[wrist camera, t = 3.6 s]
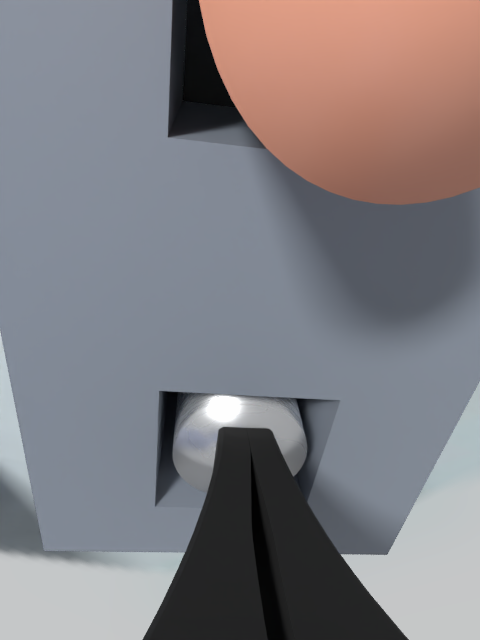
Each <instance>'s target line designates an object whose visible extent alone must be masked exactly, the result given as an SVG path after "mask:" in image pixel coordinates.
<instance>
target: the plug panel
mask: <svg viewBox="0 0 480 640" xmlns="http://www.w3.org/2000/svg"><path fill="white" fill-rule="evenodd" d="M187 1H188V0H0V331H1V336H2V342H3V347H4V352H5V357H6V362H7V367H8V372H9V377H10V382H11V387H12V392H13V397H14V402H15V407H16V412H17V417H18V422H19V428H20V433H21V438H22V443H23V448H24V453H25V458H26V463H27V468H28V473H29V478H30V483H31V488H32V493H33V498H34V503H35V509H36V514H37V519H38V524H39V529H40V534H41V539H42V544H43V549H44V551H102V552H186V549H187V547H188V544H189V542H190V539H191V537H192V534H193V532H194V529H195V527H196V524H197V521H198V518H199V515H200V512H201V510H202V507H203V504H204V501H205V498H206V495H207V493H206V492H203V491H201V490H198V489H196V488H195V487H193V486H191V485H190V484H189V483H187V482H186V481H185V480H184V479H183V478H182V477H181V476H180V475H179V473H178V472H177V470H176V468H175V465H174V462H173V442H174V430H175V419H176V407H177V396H178V392H191V393H210V394H229V395H248V396H267V397H286V398H296V400H297V404H298V408H299V412H300V416H301V420H302V425H303V429H304V433H305V437H306V442H307V455H306V459H305V461H304V464H303V465H302V467H301V469H300V470H299V471H298V472H297V474H296V475H295V476H294V479H295V481H296V483H297V485H298V486H299V488H300V490H301V492H302V494H303V495H304V497H305V499H306V501H307V503H308V504H309V506H310V508H311V509H312V511H313V513H314V515H315V516H316V518H317V519H318V521H319V523H320V524H321V526H322V527H323V529H324V531H325V532H326V534H327V535H328V537H329V538H330V540H331V541H332V543H333V544H334V546H335V547H336V549H337V550H338V552H339V553H340V554H376V555H377V554H378V555H387V554H388V552H389V550H390V548H391V546H392V545H393V543H394V541H395V539H396V537H397V535H398V533H399V531H400V530H401V528H402V526H403V524H404V522H405V520H406V518H407V516H408V515H409V513H410V511H411V509H412V507H413V505H414V503H415V501H416V500H417V498H418V496H419V494H420V492H421V490H422V488H423V486H424V485H425V483H426V481H427V479H428V477H429V475H430V473H431V471H432V470H433V468H434V466H435V464H436V462H437V460H438V458H439V456H440V455H441V453H442V451H443V449H444V447H445V445H446V443H447V441H448V440H449V438H450V436H451V434H452V432H453V430H454V428H455V426H456V425H457V423H458V421H459V419H460V417H461V415H462V413H463V411H464V410H465V408H466V406H467V404H468V402H469V400H470V398H471V396H472V395H473V393H474V391H475V389H476V387H477V385H478V383H479V381H480V187H479V188H477V189H474V190H471V191H468V192H465V193H462V194H459V195H456V196H454V197H450V198H445V199H440V200H436V201H431V202H426V203H415V204H405V205H394V204H375V203H369V202H364V201H358V200H353V199H350V198H346V197H343V196H340V195H337V194H334V193H331V192H329V191H327V190H325V189H323V188H321V187H319V186H317V185H315V184H312V183H310V182H308V181H307V180H305V179H304V178H302V177H301V176H299V175H298V174H296V173H295V172H294V171H292V170H291V169H289V168H288V167H286V166H285V165H284V164H283V163H282V162H281V161H280V160H279V159H278V158H276V157H275V156H274V155H273V154H272V153H271V152H270V151H269V150H268V149H267V148H266V147H265V146H264V145H263V144H262V142H261V141H260V140H259V139H258V137H257V136H256V135H255V134H254V133H253V131H252V130H251V129H250V128H249V127H248V125H247V124H246V122H245V120H244V119H243V117H242V116H241V114H240V112H239V111H238V109H237V108H235V107H228V106H220V105H212V104H204V103H196V102H189V101H183V82H184V62H185V41H186V21H187Z"/></svg>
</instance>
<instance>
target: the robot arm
mask: <svg viewBox="0 0 480 640" xmlns="http://www.w3.org/2000/svg"><path fill="white" fill-rule="evenodd" d="M143 640H409V639H408V638H407V637H406V636H405V635H404V634H403V633H402V632H401V630H400V629H399V628H398V627H397V626H396V624H395V623H394V622H393V621H392V620H391V619H390V617H389V616H388V615H387V614H386V613H385V611H384V610H383V609H382V608H381V607H380V605H379V604H378V603H377V602H376V601H375V600H374V598H373V597H372V596H371V595H370V594H369V592H368V591H367V590H366V588H365V587H364V586H363V584H362V583H361V582H360V580H359V579H358V578H357V577H356V575H355V574H354V573H353V571H352V570H351V568H350V567H349V566H348V564H347V563H346V562H345V560H344V559H343V557H342V556H341V555H340V553H339V552H338V550H337V549H336V547H335V546H334V544H333V543H332V541H331V540H330V538H329V537H328V535H327V534H326V532H325V531H324V529H323V527H322V526H321V524H320V523H319V521H318V519H317V518H316V516H315V515H314V513H313V511H312V509H311V508H310V506H309V504H308V503H307V501H306V499H305V497H304V495H303V494H302V492H301V490H300V488H299V486H298V485H297V483H296V481H295V479H294V477H293V475H292V473H291V471H290V469H289V467H288V465H287V463H286V461H285V459H284V457H283V455H282V453H281V450H280V448H279V446H278V444H277V441H276V439H275V437H274V434H273V432H272V431H271V430H270V429H265V428H241V427H222V428H220V429H219V430H218V437H217V444H216V452H215V459H214V466H213V473H212V477H211V481H210V484H209V488H208V491H207V495H206V498H205V501H204V504H203V507H202V510H201V512H200V515H199V518H198V521H197V524H196V527H195V529H194V532H193V534H192V537H191V539H190V542H189V544H188V547H187V549H186V552H185V554H184V556H183V559H182V561H181V563H180V565H179V568H178V570H177V572H176V574H175V576H174V579H173V581H172V583H171V585H170V587H169V589H168V592H167V593H166V596H165V598H164V600H163V602H162V604H161V606H160V608H159V610H158V612H157V614H156V616H155V617H154V619H153V621H152V623H151V625H150V627H149V629H148V631H147V633H146V635H145V636H144V638H143Z"/></svg>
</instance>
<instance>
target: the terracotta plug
mask: <svg viewBox="0 0 480 640" xmlns="http://www.w3.org/2000/svg"><path fill="white" fill-rule="evenodd" d="M199 3H200V8H201V13H202V17H203V22H204V27H205V32H206V36H207V39H208V42H209V45H210V48H211V51H212V54H213V57H214V60H215V63H216V66H217V69H218V72H219V74H220V76H221V78H222V80H223V82H224V85H225V87H226V89H227V91H228V93H229V95H230V98H231V100H232V101H233V103H234V104H235V106H236V108H237V109H238V111H239V112H240V114H241V116H242V117H243V119H244V120H245V122H246V124H247V125H248V127H249V128H250V129H251V130H252V131H253V133H254V134H255V135H256V136H257V137H258V139H259V140H260V141H261V142H262V144H263V145H264V146H265V147H266V148H267V149H268V150H269V151H270V152H271V153H272V154H273V155H274V156H275V157H276V158H278V159H279V160H280V161H281V162H282V163H283V164H284V165H285V166H286V167H288V168H289V169H291V170H292V171H294V172H295V173H296V174H298V175H299V176H301V177H302V178H304V179H305V180H307V181H308V182H310V183H312V184H315V185H317V186H319V187H321V188H323V189H325V190H327V191H329V192H331V193H334V194H337V195H340V196H343V197H346V198H350V199H353V200H358V201H364V202H369V203H375V204H394V205H405V204H415V203H426V202H431V201H436V200H440V199H445V198H450V197H454V196H456V195H459V194H462V193H465V192H468V191H471V190H474V189H477V188H479V187H480V0H199Z"/></svg>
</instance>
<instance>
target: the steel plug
mask: <svg viewBox="0 0 480 640" xmlns="http://www.w3.org/2000/svg"><path fill="white" fill-rule="evenodd" d="M222 427H241V428H265V429H270V430H271V431H272V432H273V434H274V437H275V439H276V441H277V444H278V446H279V448H280V450H281V453H282V455H283V457H284V459H285V461H286V463H287V465H288V467H289V469H290V471H291V473H292V475H293V477H294V476H295V475H296V474H297V472H298V471H299V470H300V469H301V467H302V465H303V464H304V461H305V459H306V455H307V442H306V437H305V433H304V429H303V425H302V420H301V416H300V412H299V408H298V404H297V400H296V398H286V397H267V396H248V395H229V394H210V393H191V392H178V396H177V407H176V419H175V430H174V442H173V462H174V465H175V468H176V470H177V472H178V473H179V475H180V476H181V477H182V478H183V479H184V480H185V481H186V482H187V483H189V484H190V485H191V486H193V487H195V488H196V489H198V490H201V491H203V492H206V493H207V491H208V488H209V484H210V481H211V477H212V473H213V466H214V459H215V452H216V444H217V437H218V430H219V429H220V428H222Z"/></svg>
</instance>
